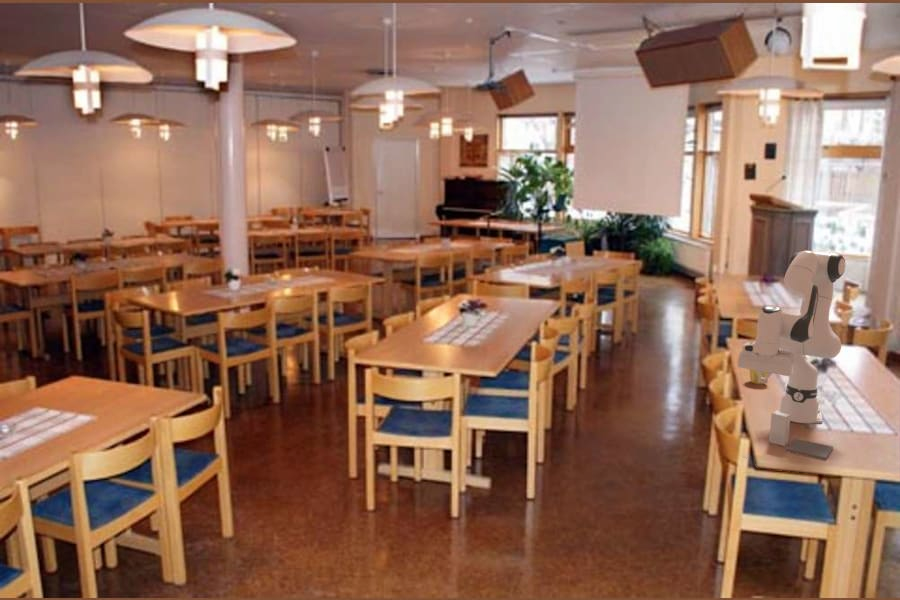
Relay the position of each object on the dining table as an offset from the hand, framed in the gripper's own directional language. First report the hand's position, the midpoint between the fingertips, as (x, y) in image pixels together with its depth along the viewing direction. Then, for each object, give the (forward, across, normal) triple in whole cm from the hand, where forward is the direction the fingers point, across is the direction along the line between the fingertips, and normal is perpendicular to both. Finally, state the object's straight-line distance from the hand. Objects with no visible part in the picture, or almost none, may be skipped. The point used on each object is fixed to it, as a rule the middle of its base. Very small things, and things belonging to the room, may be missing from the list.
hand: (763, 382), depth 306 cm
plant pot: (+23, +20, -81) cm, 87 cm away
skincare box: (+23, -8, 0) cm, 25 cm away
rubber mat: (+23, -20, 0) cm, 30 cm away
